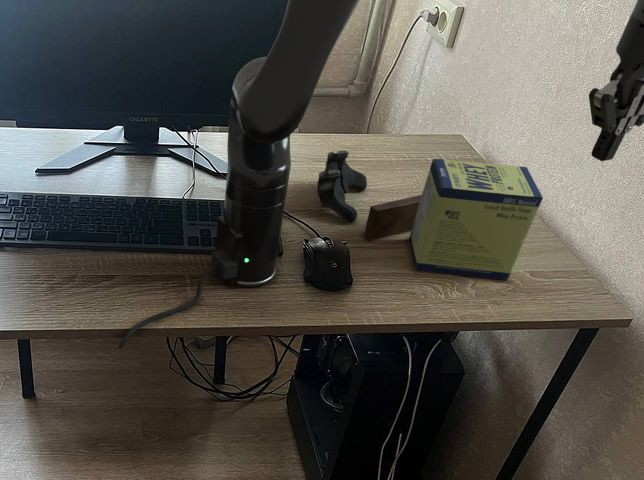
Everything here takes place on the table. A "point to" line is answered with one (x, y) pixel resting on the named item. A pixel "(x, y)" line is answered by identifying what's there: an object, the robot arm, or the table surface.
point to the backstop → (391, 218)
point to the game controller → (339, 185)
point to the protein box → (473, 218)
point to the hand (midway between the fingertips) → (600, 157)
